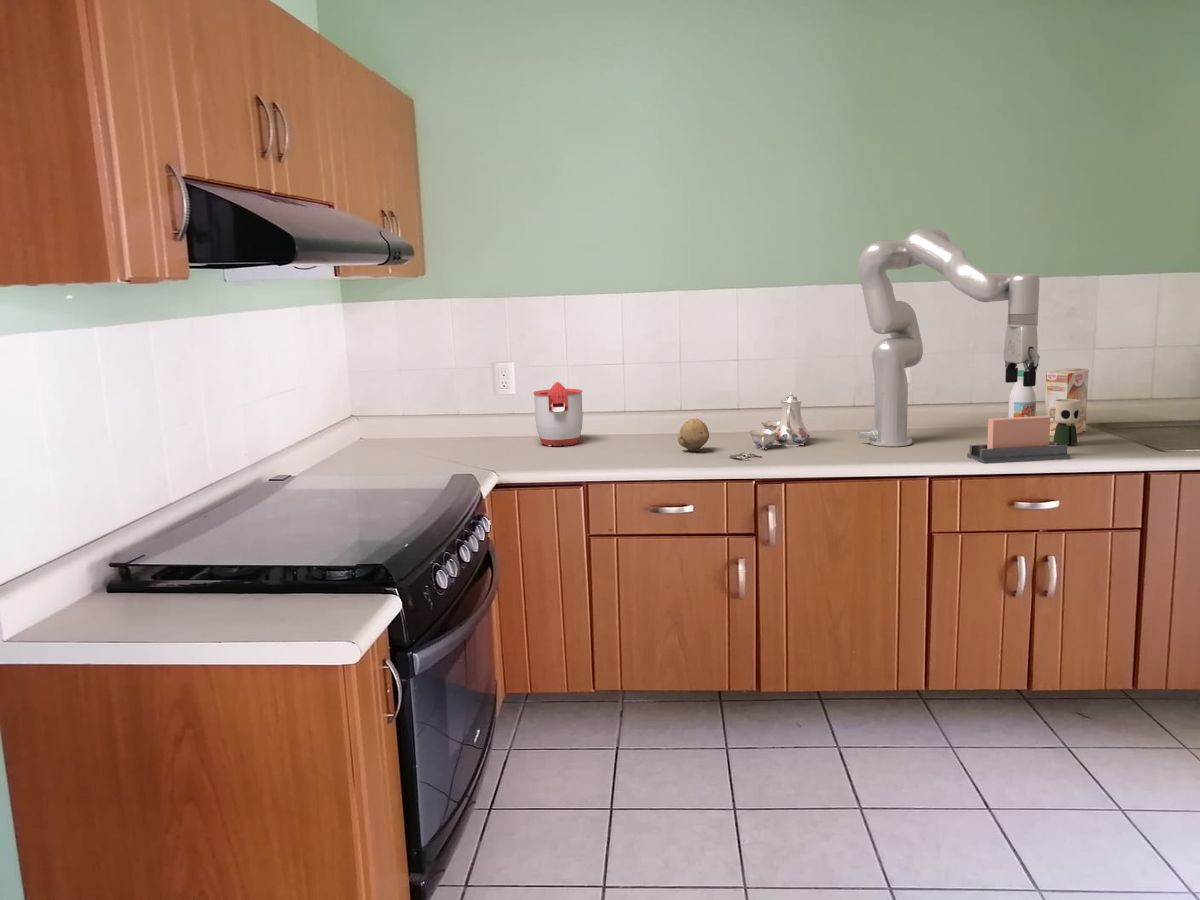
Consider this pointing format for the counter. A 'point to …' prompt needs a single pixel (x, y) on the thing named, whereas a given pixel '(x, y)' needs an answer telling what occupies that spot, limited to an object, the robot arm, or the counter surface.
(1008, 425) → the door panel
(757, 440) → the chinaware
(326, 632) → the counter surface
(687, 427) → the brown round lump
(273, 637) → the counter surface
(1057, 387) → the coffeecake box
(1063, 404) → the character mug
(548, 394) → the citrus juicer
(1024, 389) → the milk bottle
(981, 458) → the door track
